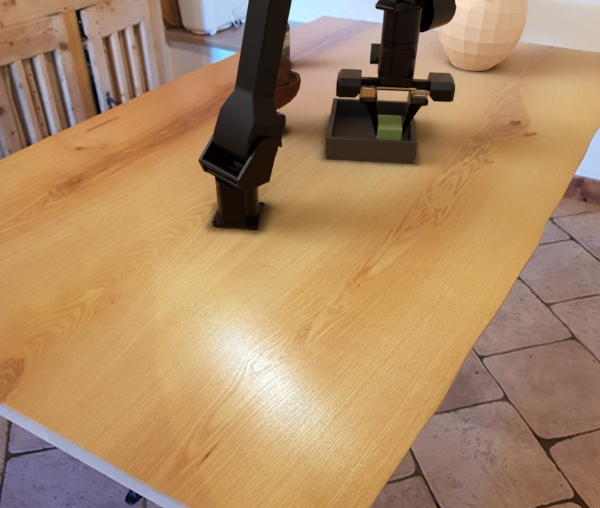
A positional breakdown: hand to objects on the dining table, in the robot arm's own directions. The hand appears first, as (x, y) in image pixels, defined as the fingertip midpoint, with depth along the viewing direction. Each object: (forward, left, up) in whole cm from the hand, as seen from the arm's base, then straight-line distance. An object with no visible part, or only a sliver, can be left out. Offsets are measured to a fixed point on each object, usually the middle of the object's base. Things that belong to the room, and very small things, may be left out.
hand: (388, 135), depth 94 cm
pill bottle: (+39, +25, -2) cm, 46 cm away
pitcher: (+45, -20, -2) cm, 49 cm away
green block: (0, 0, -1) cm, 1 cm away
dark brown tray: (+2, +3, -2) cm, 4 cm away
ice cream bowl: (+3, +21, -2) cm, 21 cm away
